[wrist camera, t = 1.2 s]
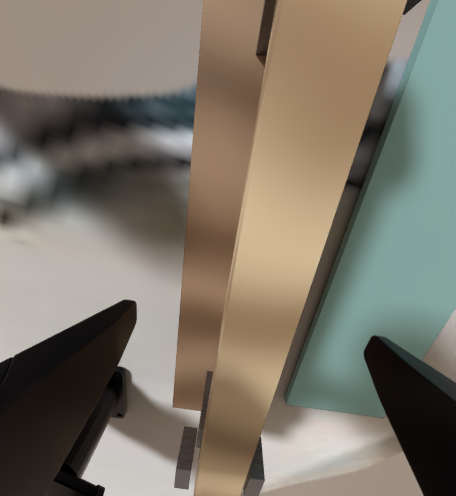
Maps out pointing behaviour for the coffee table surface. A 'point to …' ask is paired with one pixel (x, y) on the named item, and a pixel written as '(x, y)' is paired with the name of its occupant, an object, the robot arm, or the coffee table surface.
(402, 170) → the teal mat
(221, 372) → the oak rail
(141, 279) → the coffee table surface
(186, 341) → the walnut board
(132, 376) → the coffee table surface
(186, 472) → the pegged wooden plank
